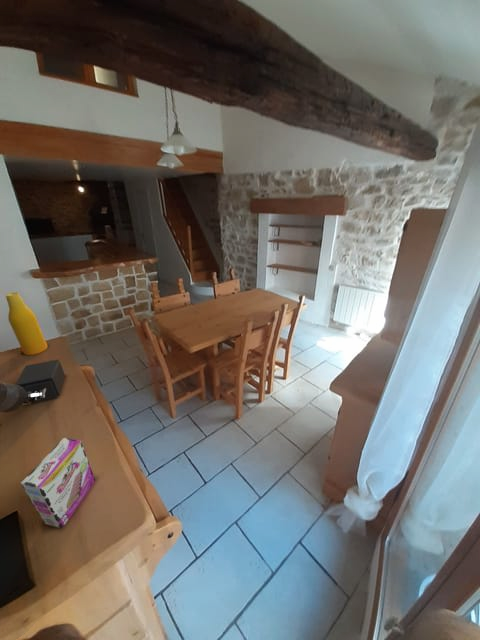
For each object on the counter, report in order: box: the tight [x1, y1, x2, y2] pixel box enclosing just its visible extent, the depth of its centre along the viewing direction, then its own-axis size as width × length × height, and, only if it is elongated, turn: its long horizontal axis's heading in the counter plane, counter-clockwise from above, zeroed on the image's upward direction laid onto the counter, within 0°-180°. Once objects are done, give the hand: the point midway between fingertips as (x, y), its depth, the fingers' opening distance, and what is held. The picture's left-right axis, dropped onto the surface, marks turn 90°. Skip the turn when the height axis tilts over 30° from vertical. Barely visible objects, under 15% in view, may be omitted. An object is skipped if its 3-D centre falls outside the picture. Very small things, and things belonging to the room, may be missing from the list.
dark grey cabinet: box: [15, 359, 66, 397], centre depth 93 cm, size 12×11×10 cm
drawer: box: [21, 380, 59, 407], centre depth 90 cm, size 15×9×8 cm, turn 23°
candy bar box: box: [20, 437, 96, 529], centre depth 58 cm, size 11×5×16 cm, turn 169°
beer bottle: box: [5, 291, 48, 356], centre depth 112 cm, size 9×9×29 cm
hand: (32, 401), depth 83 cm, fingers closed
